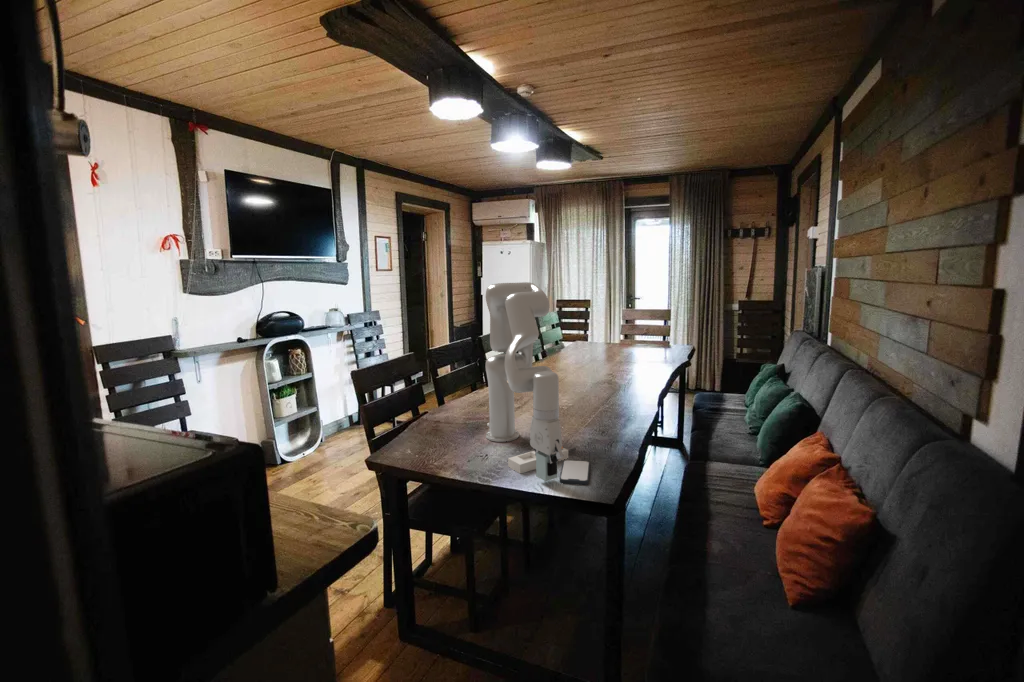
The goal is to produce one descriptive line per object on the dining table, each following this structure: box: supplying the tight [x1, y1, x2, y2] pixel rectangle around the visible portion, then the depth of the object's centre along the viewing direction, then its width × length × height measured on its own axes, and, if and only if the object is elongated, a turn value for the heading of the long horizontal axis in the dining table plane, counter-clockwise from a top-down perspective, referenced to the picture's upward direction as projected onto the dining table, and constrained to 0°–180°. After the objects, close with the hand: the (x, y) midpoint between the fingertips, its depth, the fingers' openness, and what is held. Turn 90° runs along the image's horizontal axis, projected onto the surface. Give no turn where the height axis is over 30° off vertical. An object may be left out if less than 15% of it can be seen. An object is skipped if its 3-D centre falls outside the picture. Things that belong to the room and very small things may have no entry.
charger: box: [535, 452, 558, 482], centre depth 150 cm, size 4×4×8 cm
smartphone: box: [559, 459, 591, 486], centre depth 156 cm, size 9×2×16 cm
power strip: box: [507, 445, 577, 474], centre depth 166 cm, size 6×26×4 cm, turn 124°
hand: (546, 471), depth 150 cm, fingers closed on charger, 4 cm apart
